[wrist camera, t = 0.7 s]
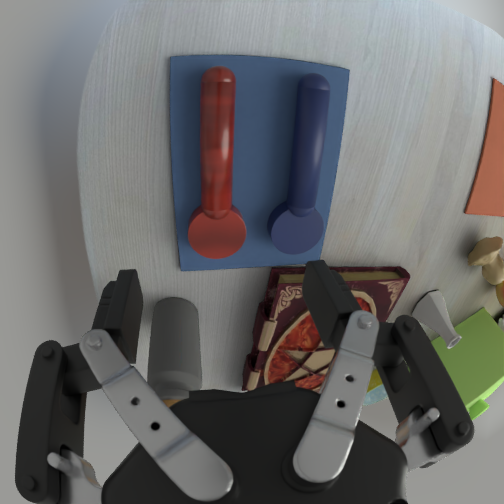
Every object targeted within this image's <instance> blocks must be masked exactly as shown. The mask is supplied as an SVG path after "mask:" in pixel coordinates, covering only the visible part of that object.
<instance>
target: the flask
mask: <svg viewBox="0 0 504 504" xmlns="http://www.w3.org/2000/svg"><path fill="white" fill-rule="evenodd" d="M412 316H413V317H415V318H416V319H417V320H419V321H420V322H422V323H423V324H425V325H426V326H428V327H429V328H431V329H432V330H434V331H435V332H437V333H438V334H439V335H440V336H441V337H442V338H443V339H444V341H445V342H446V344H447V345H446V347H447V348H448V349H450V348H452V347H454V346H455V345H456V344H457V343H458V342H459V341H460V339H461V338H462V337H461V336H460V335H459V334H457V333H456V331H455V330H454V328H453V325H452V323H451V321H450V317H449V314H448V311H447V308H446V304H445V301H444V298H443V295H442V294H441V293H440V291H439V290H438V291H434V292H429V293H428V294H427V295H426V296H425V297H424V298H423V299H422V300H421V301H420V302H419V303H418V304H417V305H416V307H415V309H414V311H413V313H412Z"/></svg>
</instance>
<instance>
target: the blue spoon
mask: <svg viewBox="0 0 504 504" xmlns="http://www.w3.org/2000/svg"><path fill="white" fill-rule="evenodd" d="M329 99H330V84H329V82H328V81H327V79H326V78H325V77H323V76H322V75H320V74H317V73H309V74H306V75H304V76H303V77H302V78H301V79H300V80H299V83H298V88H297V101H296V112H295V123H294V134H293V144H292V155H291V164H290V174H289V183H288V192H287V201H285V202H283V203H281V204H279V205H278V206H277V207H276V208H275V209H274V210H273V211H272V213H271V214H270V216H269V219H268V223H267V229H268V233H269V236H270V238H271V240H272V243H273V245H274V246H275V247H276V248H277V249H278V250H279V251H281V252H283V253H285V254H290V255H296V254H301V253H304V252H306V251H308V250H310V249H311V248H313V247H314V246H315V245H316V244H317V243H318V242H319V240H320V239H321V237H322V234H323V231H324V222H323V219H322V217H321V215H320V214H319V212H318V211H317V210H316V209H315V204H316V198H317V191H318V185H319V178H320V171H321V164H322V157H323V150H324V142H325V134H326V126H327V118H328V109H329Z"/></svg>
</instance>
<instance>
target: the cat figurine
mask: <svg viewBox="0 0 504 504" xmlns="http://www.w3.org/2000/svg"><path fill="white" fill-rule="evenodd" d="M502 243H503V240H502V238H500V237H493V238H487V237H486V238H484V239H482V240H480V241H479V242H477V244H476V246H475V248H474V249H473V251H472V252H471V253H469V255H468V266H472V265H483V266H482V274H483V277H484V278H485V279H486V280H487V281H488V282H489V283H490V284H492V285H497V284H500V283H501V282H502V281H503V280H504V262H503V260H502V258H501V257H500V255H499V250H500V249H501V247H502Z"/></svg>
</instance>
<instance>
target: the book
mask: <svg viewBox="0 0 504 504" xmlns="http://www.w3.org/2000/svg"><path fill="white" fill-rule="evenodd" d="M305 269H306V268H272V270H271V274H270V278H269V282H268V287H267V291H266V295H265V299H264V302H261V303H259V307H258V311H257V316H256V320H255V324H254V328H253V342H254V343H253V347H252V351H251V354H248V355H247V358H246V362H245V366H244V370H243V386H242V391H245V390H248V391H251V390H254V389H256V388H259V387H262V386H264V385H267V384H271V383H278V382H285V381H291V380H294V381H295V385H296V387H301V388H306V389H310V390H313V391H315V392H318V391H319V389H320V386H321V384H322V382H323V380H324V377H325V375H326V372H327V370H328V367H329V365H330V362H331V360H332V357H333V355H334V352H335V350H334V348H333V347H332V348H326V349H325V347H324V345H323V343H322V340H321V338H320V336H319V333H318V331H317V329H316V326H315V324H314V322H313V319H312V317H311V315H310V312H309V310H308V308H307V305H306V303H305V301H304V298H303V295H302V284H303V279H304V274H305ZM329 269H330V270H335V271H336V272H338V273H339V274H340V275H341V276H342V277H343V279H344V280H345V282H346V285H348V287H349V288H350V290H351V292H352V293H353V295H354V297H355V298H356V300H357V301H358V303H359V305H360V306H361V308H362V310H363V311H367V312H370V313H372V314H373V315H374V316H375V317H376V318H377V319H378V321H380V322H385V321H386V320H387V318H388V317H389V315H390V313H391V311H392V310H393V308H394V306H395V305H396V303H397V301H398V299H399V298H400V296H401V294H402V292H403V290H404V288H405V287H406V285H407V283H408V281H409V279H410V274H409V273H408V272H407V271H406V270H405V269H404V268H402V267H329Z"/></svg>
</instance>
